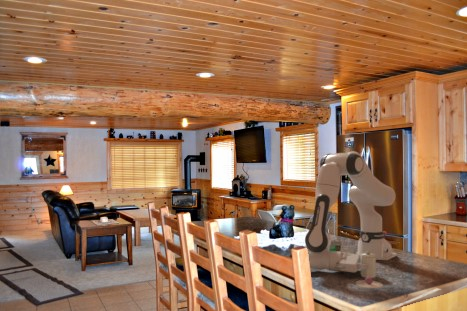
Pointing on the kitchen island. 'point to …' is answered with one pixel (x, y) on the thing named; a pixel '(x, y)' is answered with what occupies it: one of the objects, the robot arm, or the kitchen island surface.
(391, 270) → the kitchen island surface
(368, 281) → the ball
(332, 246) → the food container
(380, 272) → the kitchen island surface
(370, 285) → the saucer
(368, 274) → the lidded octagonal canister
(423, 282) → the kitchen island surface
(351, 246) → the kitchen island surface
